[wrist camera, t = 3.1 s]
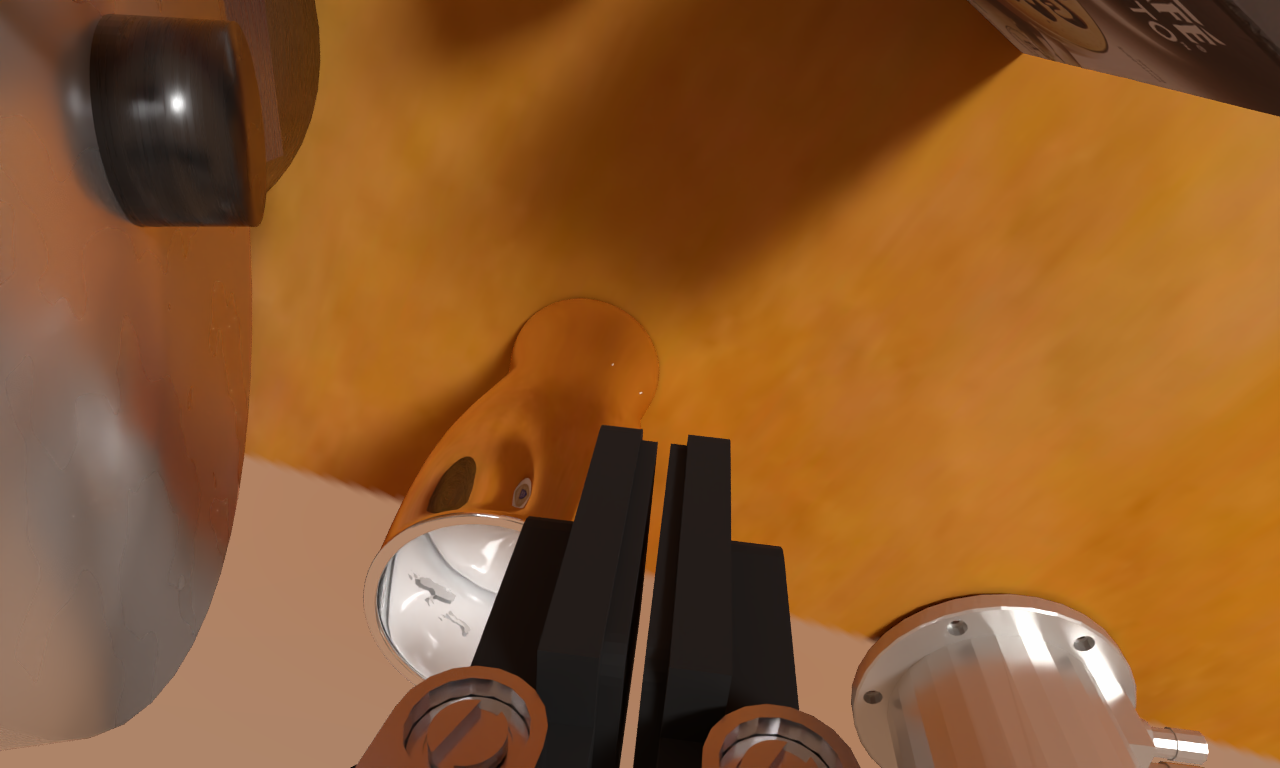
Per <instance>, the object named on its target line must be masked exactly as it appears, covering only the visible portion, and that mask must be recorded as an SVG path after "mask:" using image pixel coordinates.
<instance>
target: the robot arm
mask: <svg viewBox="0 0 1280 768" xmlns="http://www.w3.org/2000/svg"><path fill="white" fill-rule="evenodd" d="M642 437H643V429H635V428H627V427H618V426H609V425H601V427H600V430H599V434H598V437H597V441H596V444H595V448H594V451H593V455H592V459H591V462H590V466H589V469H588V473H587V476H586V480H585V483H584V487H583V490H582V494H581V498H580V501H579V505H578V508H577V512H576V515H575V519H574V521H567V520H559V519H550V518H542V517H534V516H529V517H527V518H526V520H525V522H524V524H523V526H522V529H521V532H520V534H519V537H518V540H517V543H516V545H515V548H514V551H513V553H512V556H511V559H510V561H509V564H508V567H507V569H506V572H505V575H504V577H503V580H502V583H501V585H500V588H499V591H498V593H497V596H496V599H495V602H494V604H493V607H492V610H491V612H490V615H489V618H488V620H487V623H486V626H485V628H484V631H483V634H482V636H481V639H480V642H479V644H478V647H477V650H476V652H475V655H474V658H473V661H472V663H471V666H469V667H461V668H453V669H450V670H447V671H444V672H441V673H438V674H436V675H433V676H430V677H429V678H427V679H426V680H424V681H423V682H421V683H419V684H418V685H416V686H415V687H413V688H412V689H410V690H409V692H408V693H407V694H406V695H405V696H404V697H403V698H402V700H401V701H400V702H399V703H398V704H397V705H396V706H395V708H394V709H393V711H392V712H391V714H390V715H389V717H388V718H387V720H386V721H385V723H384V724H383V726H382V727H381V729H380V730H379V732H378V733H377V735H376V737H375V738H374V740H373V741H372V743H371V744H370V746H369V747H368V749H367V750H366V752H365V753H364V755H363V756H362V758H361V759H360V761H359V762H358V764H357V765H355V766H353V767H351V768H619V767H620V759H621V751H622V744H623V737H624V730H625V723H626V715H627V708H628V700H629V693H630V685H631V678H632V671H633V664H634V657H635V649H636V641H637V634H638V627H639V619H640V611H641V602H642V592H643V582H644V573H645V563H646V553H647V543H648V534H649V524H650V514H651V505H652V495H653V485H654V475H655V466H656V456H657V445H658V442H652V441H643V440H642ZM851 705H852V711H853V717H854V724H855V728H856V730H857V733H858V736H859V739H860V742H861V743H862V745H863V746H864V748H865V749H866V751H867V752H868V754H869V755H870V757H871V758H872V759H873V760H874V761H875V762H876V763H877V764H878V765H879V766H880V767H881V768H1204V767H1200V766H1194V765H1186V764H1178V763H1171V762H1163V761H1160V762H1159V763H1152V762H1151V761H1152V760H1153V758H1154V757H1160V758H1167V759H1168V760H1172V761H1180V762H1186V763H1194V764H1203V763H1204V762H1205V761H1206V760H1207V756H1208V746H1207V743H1206V740H1205V738H1204V736H1203V735H1202V734H1201V733H1200V732H1199V731H1191V730H1183V729H1176V728H1168V727H1165V728H1156V727H1150V725H1149V724H1148V722H1146V721H1145V720H1143V719H1142V718H1140V717H1139V716H1138V714H1137V712H1136V710H1135V708H1136V684H1135V681H1134V678H1133V675H1132V671H1131V668H1130V666H1129V664H1128V663H1127V661H1126V659H1125V657H1124V656H1123V654H1122V652H1121V650H1120V649H1119V647H1118V645H1117V644H1116V643H1115V642H1114V641H1113V639H1112V638H1111V637H1110V636H1109V635H1108V633H1107V632H1106V631H1105V630H1104V629H1103V628H1102V627H1100V626H1099V625H1098V624H1096V623H1095V622H1094V621H1092V620H1091V619H1090V618H1088V617H1087V616H1086V615H1084V614H1082V613H1080V612H1077V611H1075V610H1073V609H1071V608H1069V607H1067V606H1065V605H1063V604H1059V603H1056V602H1052V601H1049V600H1045V599H1041V598H1038V597H1030V596H1022V595H1014V594H992V595H977V596H971V597H965V598H959V599H954V600H950V601H947V602H944V603H941V604H938V605H935V606H932V607H928V608H926V609H924V610H922V611H920V612H918V613H916V614H914V615H912V616H910V617H908V618H906V619H904V620H903V621H901V622H900V623H898V624H897V625H896V626H894V627H893V628H891V629H890V630H889V631H887V632H886V633H885V634H884V635H883V636H882V637H881V638H880V639H879V640H878V641H877V642H876V643H875V644H874V645H873V646H872V647H871V648H870V649H869V651H868V652H867V654H866V656H865V657H864V659H863V660H862V662H861V663H860V665H859V667H858V669H857V672H856V676H855V678H854V682H853V684H852V699H851ZM633 768H860V766H859V764H858V762H857V760H856V758H855V757H854V755H853V752H852V751H851V749H850V747H849V746H848V745H847V744H846V743H845V742H844V741H843V740H842V739H841V738H840V736H839V735H838V734H837V733H836V732H835V731H834V730H833V729H831V728H830V727H828V726H827V725H825V724H824V723H823V722H821V721H820V720H818V719H817V718H815V717H814V716H811V715H809V714H806V713H804V712H801V711H799V705H798V695H797V684H796V674H795V664H794V654H793V644H792V634H791V623H790V613H789V603H788V593H787V583H786V573H785V562H784V555H783V550H782V548H781V547H779V546H771V545H763V544H755V543H746V542H738V541H731V457H730V439H721V438H713V437H704V436H695V435H688V442H687V446H686V445H678V444H671V448H670V456H669V465H668V473H667V481H666V490H665V498H664V506H663V515H662V523H661V531H660V540H659V548H658V556H657V564H656V573H655V581H654V589H653V598H652V606H651V615H650V623H649V631H648V640H647V649H646V656H645V665H644V674H643V683H642V692H641V701H640V710H639V720H638V728H637V737H636V746H635V755H634V765H633Z"/></svg>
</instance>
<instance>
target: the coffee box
mask: <svg viewBox="0 0 1280 768" xmlns="http://www.w3.org/2000/svg"><path fill="white" fill-rule="evenodd" d="M968 1H969V2H970V3H971V4H972V5H973V6H974V7H975V8H976V9H977V10H978V11H979V12H980V13H981V14H982V15H983V16H984V17H985V18H986V19H987V20H988V21H989V22H990V23H992V24H993V25H994V26H995V27H996V28H997V29H998V30H999V31H1000V32H1001V33H1002V34H1003V35H1004V36H1005V37H1006V38H1007V39H1008V40H1009V41H1010V42H1011V43H1012V44H1013V45H1015V46H1016V47H1017V48H1018V49H1019V50H1020V51H1021V52H1022V53H1025V54H1029V55H1033V56H1037V57H1041V58H1044V59H1048V60H1052V61H1058V62H1061V63H1065V64H1069V65H1073V66H1077V67H1081V68H1085V69H1090V70H1095V71H1099V72H1102V73H1107V74H1111V75H1115V76H1119V77H1124V78H1128V79H1132V80H1136V81H1139V82H1144V83H1148V84H1152V85H1156V86H1160V87H1164V88H1168V89H1172V90H1176V91H1180V92H1184V93H1188V94H1192V95H1196V96H1200V97H1204V98H1208V99H1212V100H1216V101H1219V102H1223V103H1227V104H1231V105H1235V106H1239V107H1243V108H1247V109H1251V110H1255V111H1259V112H1264V113H1268V114H1272V115H1276V116H1280V0H968Z"/></svg>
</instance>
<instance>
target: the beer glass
mask: <svg viewBox="0 0 1280 768" xmlns="http://www.w3.org/2000/svg"><path fill="white" fill-rule="evenodd" d="M658 381H659V361H658V356H657V353H656V350H655V347H654V344H653V342H652V340H651V338H650V337H649V335H648V333H647V332H646V331H645V329H644V328H643V327H642V326H641V324H640V323H639V322H638V321H637V320H636V319H634V318H633V317H632V316H631V315H629V314H628V313H627V312H625V311H624V310H622V309H620V308H618V307H616V306H614V305H612V304H609V303H606V302H603V301H599V300H594V299H586V298H575V299H567V300H562V301H559V302H556V303H553V304H551V305H548V306H546V307H545V308H543V309H541V310H540V311H538V312H537V313H535V314H534V315H533V316H532V317H531V318H530V319H529V320H528V321H527V322H526V323H525V324H524V326H523V327H522V329H521V330H520V332H519V334H518V336H517V338H516V340H515V343H514V346H513V350H512V354H511V360H510V367H509V372H508V374H507V375H506V376H505V377H504V378H503V379H501V380H500V381H499V382H498V383H497V384H496V385H494V386H493V387H492V388H491V389H490V390H488V391H487V392H486V393H485V394H484V395H483V396H482V397H480V398H479V399H478V400H477V401H476V402H475V403H474V404H473V405H471V406H470V407H469V408H468V409H467V410H466V411H465V412H464V413H463V414H462V415H461V416H460V418H459V419H458V420H457V421H456V422H455V423H454V424H453V425H452V426H451V427H450V428H449V429H448V430H447V431H446V433H445V434H444V435H443V436H442V438H441V439H440V441H439V442H438V443H437V445H436V446H435V448H434V449H433V451H432V452H431V453H430V455H429V456H428V458H427V459H426V460H425V462H424V463H423V465H422V467H421V469H420V470H419V472H418V474H417V476H416V477H415V479H414V481H413V483H412V485H411V486H410V488H409V490H408V492H407V494H406V496H405V498H404V500H403V502H402V504H401V506H400V508H399V510H398V512H397V514H396V516H395V519H394V521H393V523H392V525H391V527H390V529H389V532H388V534H387V536H386V538H385V541H384V543H383V545H382V547H381V549H380V551H379V552H378V554H377V555H376V557H375V558H374V560H373V562H372V564H371V566H370V568H369V571H368V573H367V576H366V581H365V585H364V595H363V598H364V599H363V602H364V610H365V616H366V620H367V624H368V627H369V629H370V632H371V634H372V636H373V638H374V640H375V642H376V644H377V646H378V647H379V649H380V650H381V652H382V653H383V655H384V656H385V657H386V659H387V660H388V661H389V662H390V663H391V664H392V666H393V667H394V668H395V669H396V670H397V671H398V672H399V673H400V674H402V675H403V676H404V677H405V678H406V679H407V680H409V681H410V682H411V683H412V684H414V685H415V686H416V685H418V684H419V683H421V682H423V681H424V680H426V679H427V678H429V677H430V676H433V675H436V674H438V673H441V672H444V671H447V670H450V669H453V668H461V667H469V666H471V663H472V661H473V658H474V655H475V652H476V650H477V647H478V644H479V642H480V639H481V636H482V634H483V631H484V628H485V626H486V623H487V620H488V618H489V615H490V612H491V610H492V607H493V604H494V602H495V599H496V596H497V593H498V591H499V588H500V585H501V583H502V580H503V577H504V575H505V572H506V569H507V567H508V564H509V561H510V559H511V556H512V553H513V551H514V548H515V545H516V543H517V540H518V537H519V534H520V532H521V529H522V526H523V524H524V522H525V520H526V518H527V517H529V516H534V517H542V518H550V519H559V520H567V521H574V519H575V515H576V512H577V508H578V505H579V501H580V498H581V494H582V490H583V487H584V483H585V480H586V476H587V473H588V469H589V466H590V462H591V459H592V455H593V451H594V448H595V444H596V441H597V437H598V434H599V430H600V427H601V425H609V426H618V427H627V428H635V429H641V419H642V417H643V416H644V414H645V413H646V411H647V409H648V408H649V406H650V404H651V402H652V400H653V398H654V396H655V393H656V390H657V386H658ZM642 440H643V437H642Z"/></svg>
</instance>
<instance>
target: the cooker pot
mask: <svg viewBox="0 0 1280 768" xmlns="http://www.w3.org/2000/svg"><path fill="white" fill-rule="evenodd" d="M223 1H224V6H225V12H226V19H227V21H235V22H237V23H238V24H239V26H240V27H241V29H242V31H243V33H244V35H245V38H246V40H247V43H248V46H249V50H250V53H251V57H252V61H253V65H254V69H255V74H256V79H257V84H258V90H259V96H260V102H261V109H262V117H263V126H264V136H265V150H266V192H267V191H268V190H269V189H270V188H271V187H272V186H273V185H274V184H275V183H276V182H277V181H278V179H279V178H280V177H281V176H282V174H283V173H284V172H285V170H286V169H287V168H288V167H289V165H290V164H291V162H292V160H293V158H294V157H295V155H296V153H297V151H298V149H299V148H300V146H301V144H302V142H303V139H304V137H305V134H306V131H307V129H308V126H309V123H310V121H311V118H312V114H313V109H314V105H315V100H316V95H317V91H318V80H319V68H320V43H319V26H318V19H317V13H316V6H315V0H223Z"/></svg>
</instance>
